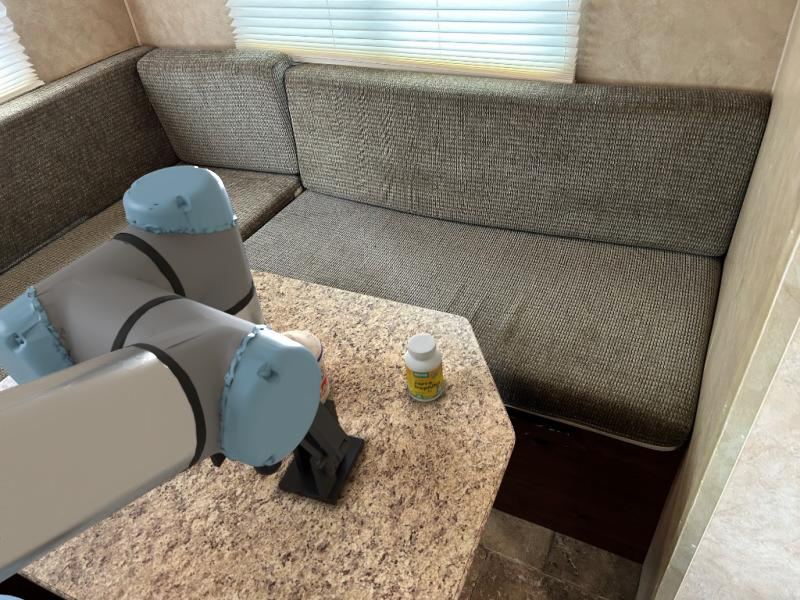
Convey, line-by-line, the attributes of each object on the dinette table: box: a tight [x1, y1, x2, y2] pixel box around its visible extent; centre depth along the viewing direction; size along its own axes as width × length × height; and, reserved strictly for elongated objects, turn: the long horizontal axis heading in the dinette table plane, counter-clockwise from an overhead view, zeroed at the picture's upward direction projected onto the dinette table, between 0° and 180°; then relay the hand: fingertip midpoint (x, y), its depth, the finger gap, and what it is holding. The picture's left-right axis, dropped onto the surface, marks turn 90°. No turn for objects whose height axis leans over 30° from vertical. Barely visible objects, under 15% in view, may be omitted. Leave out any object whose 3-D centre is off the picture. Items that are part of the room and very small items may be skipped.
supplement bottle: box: [404, 333, 445, 403], centre depth 88 cm, size 5×5×10 cm
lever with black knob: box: [252, 460, 283, 477], centre depth 71 cm, size 13×3×3 cm, turn 160°
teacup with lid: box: [279, 329, 331, 404], centre depth 89 cm, size 12×9×12 cm
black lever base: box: [277, 397, 366, 506], centre depth 78 cm, size 10×8×12 cm
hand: (274, 472), depth 68 cm, fingers open, 13 cm apart
